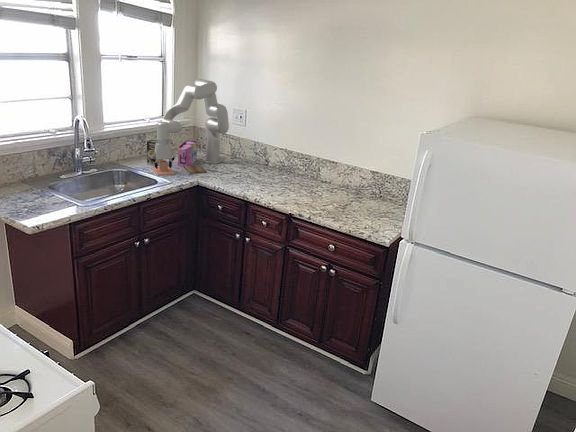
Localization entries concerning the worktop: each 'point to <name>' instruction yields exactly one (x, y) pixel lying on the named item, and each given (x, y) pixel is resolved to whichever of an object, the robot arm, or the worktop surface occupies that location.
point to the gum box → (187, 153)
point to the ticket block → (195, 169)
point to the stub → (163, 169)
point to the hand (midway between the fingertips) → (163, 167)
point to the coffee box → (151, 152)
